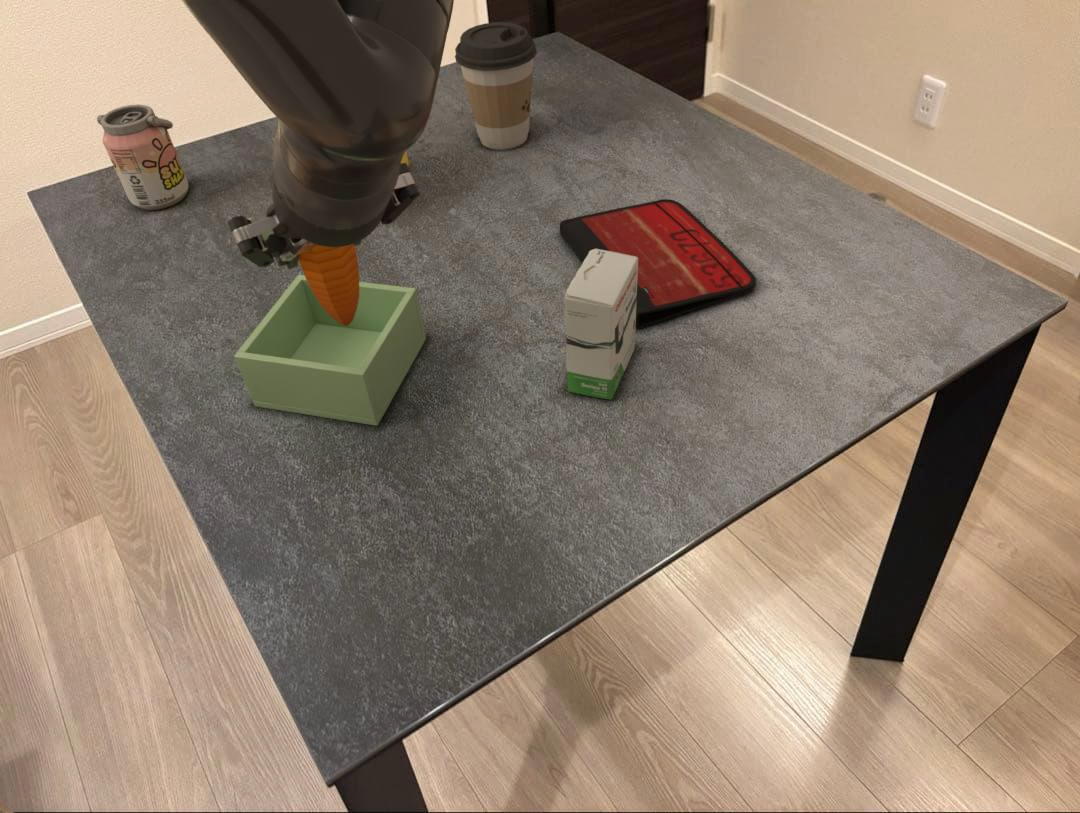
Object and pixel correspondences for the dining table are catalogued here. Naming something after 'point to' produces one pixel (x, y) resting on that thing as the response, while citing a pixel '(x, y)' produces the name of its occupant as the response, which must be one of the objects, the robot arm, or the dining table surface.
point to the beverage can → (144, 156)
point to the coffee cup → (498, 81)
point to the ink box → (600, 322)
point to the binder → (663, 256)
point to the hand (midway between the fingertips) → (319, 245)
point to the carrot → (333, 279)
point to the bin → (333, 353)
